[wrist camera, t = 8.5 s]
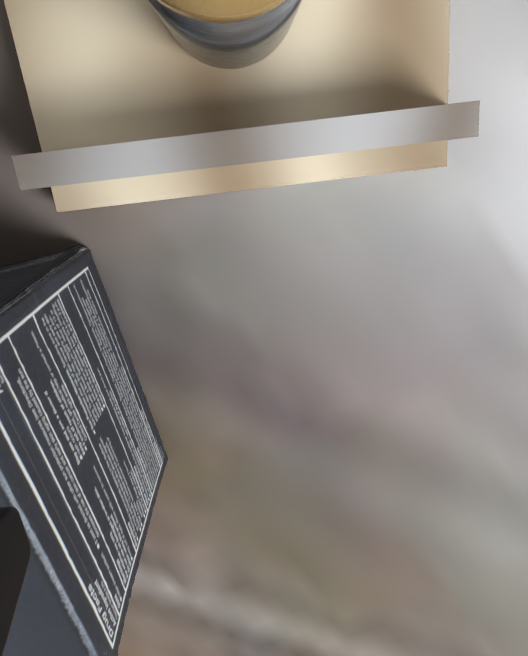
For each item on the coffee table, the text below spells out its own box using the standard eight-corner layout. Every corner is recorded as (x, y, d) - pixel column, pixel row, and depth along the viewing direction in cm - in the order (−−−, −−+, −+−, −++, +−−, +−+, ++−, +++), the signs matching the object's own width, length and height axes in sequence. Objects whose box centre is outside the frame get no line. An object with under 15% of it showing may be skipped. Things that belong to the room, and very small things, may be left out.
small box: (-66, 280, 20) (-361, 417, 10) (90, 240, 20) (-62, 341, 10) (39, 492, 24) (-103, 739, 14) (172, 460, 24) (122, 692, 14)
